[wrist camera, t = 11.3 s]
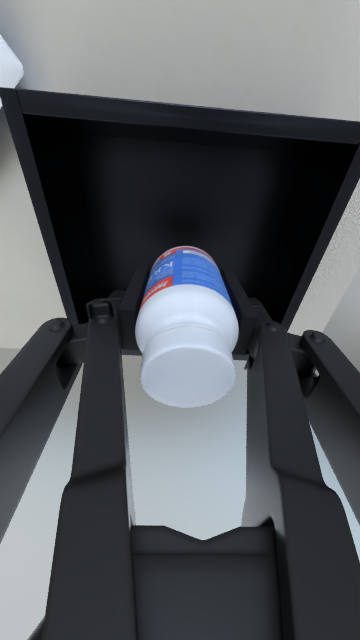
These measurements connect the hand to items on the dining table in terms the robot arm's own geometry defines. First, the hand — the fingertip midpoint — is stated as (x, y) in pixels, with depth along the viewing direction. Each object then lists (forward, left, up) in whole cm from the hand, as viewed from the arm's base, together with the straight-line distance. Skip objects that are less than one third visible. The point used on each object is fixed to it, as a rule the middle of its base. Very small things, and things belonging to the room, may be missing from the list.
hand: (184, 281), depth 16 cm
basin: (0, 0, -10) cm, 10 cm away
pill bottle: (0, 0, -1) cm, 1 cm away
